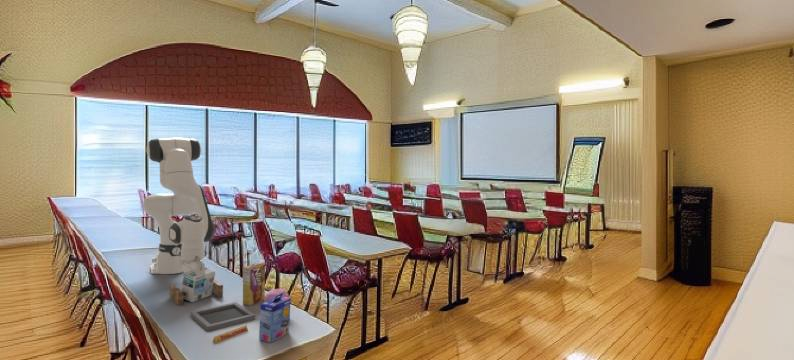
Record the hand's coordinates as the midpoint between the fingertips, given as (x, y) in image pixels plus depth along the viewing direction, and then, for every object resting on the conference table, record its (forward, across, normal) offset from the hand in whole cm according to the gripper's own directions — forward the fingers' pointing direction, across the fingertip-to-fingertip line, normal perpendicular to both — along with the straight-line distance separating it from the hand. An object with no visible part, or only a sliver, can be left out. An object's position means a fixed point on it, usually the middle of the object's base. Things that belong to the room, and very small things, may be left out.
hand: (192, 286), depth 174 cm
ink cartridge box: (+4, -59, -7) cm, 59 cm away
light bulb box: (+3, -6, 0) cm, 6 cm away
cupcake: (+4, -43, -16) cm, 46 cm away
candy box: (+4, -24, -16) cm, 29 cm away
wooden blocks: (+3, -5, 0) cm, 6 cm away
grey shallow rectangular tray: (+3, -33, 0) cm, 33 cm away
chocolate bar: (+4, -50, +4) cm, 50 cm away
